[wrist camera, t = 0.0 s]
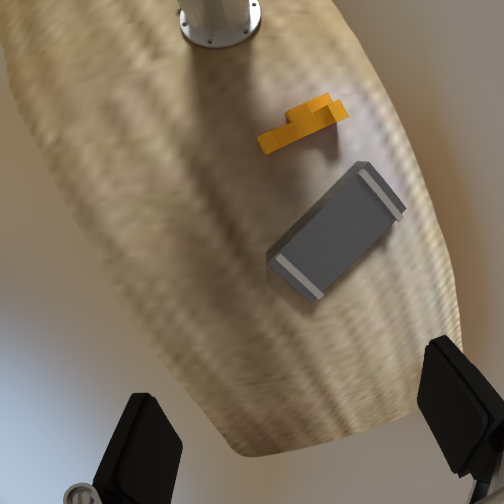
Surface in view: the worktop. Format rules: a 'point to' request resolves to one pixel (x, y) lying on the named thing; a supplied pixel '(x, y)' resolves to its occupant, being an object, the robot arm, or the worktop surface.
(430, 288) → the worktop surface
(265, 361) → the worktop surface
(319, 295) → the mounting block
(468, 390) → the robot arm
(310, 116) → the orange stepped block
